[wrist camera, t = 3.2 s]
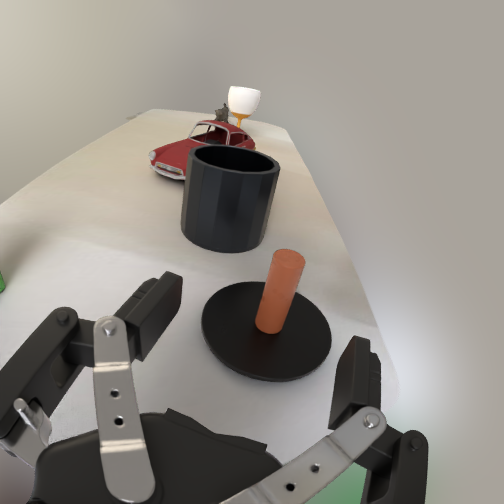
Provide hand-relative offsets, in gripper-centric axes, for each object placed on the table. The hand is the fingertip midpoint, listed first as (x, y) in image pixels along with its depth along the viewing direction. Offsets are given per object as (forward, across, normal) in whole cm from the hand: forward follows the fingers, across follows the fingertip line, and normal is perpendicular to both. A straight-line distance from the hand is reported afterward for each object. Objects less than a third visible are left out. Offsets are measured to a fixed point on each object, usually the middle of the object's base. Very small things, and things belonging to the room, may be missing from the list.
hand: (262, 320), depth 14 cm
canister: (+27, +10, +12) cm, 31 cm away
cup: (+76, +25, +12) cm, 81 cm away
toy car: (+48, +22, +12) cm, 54 cm away
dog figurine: (+97, +38, +12) cm, 105 cm away
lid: (+11, 0, +11) cm, 16 cm away
